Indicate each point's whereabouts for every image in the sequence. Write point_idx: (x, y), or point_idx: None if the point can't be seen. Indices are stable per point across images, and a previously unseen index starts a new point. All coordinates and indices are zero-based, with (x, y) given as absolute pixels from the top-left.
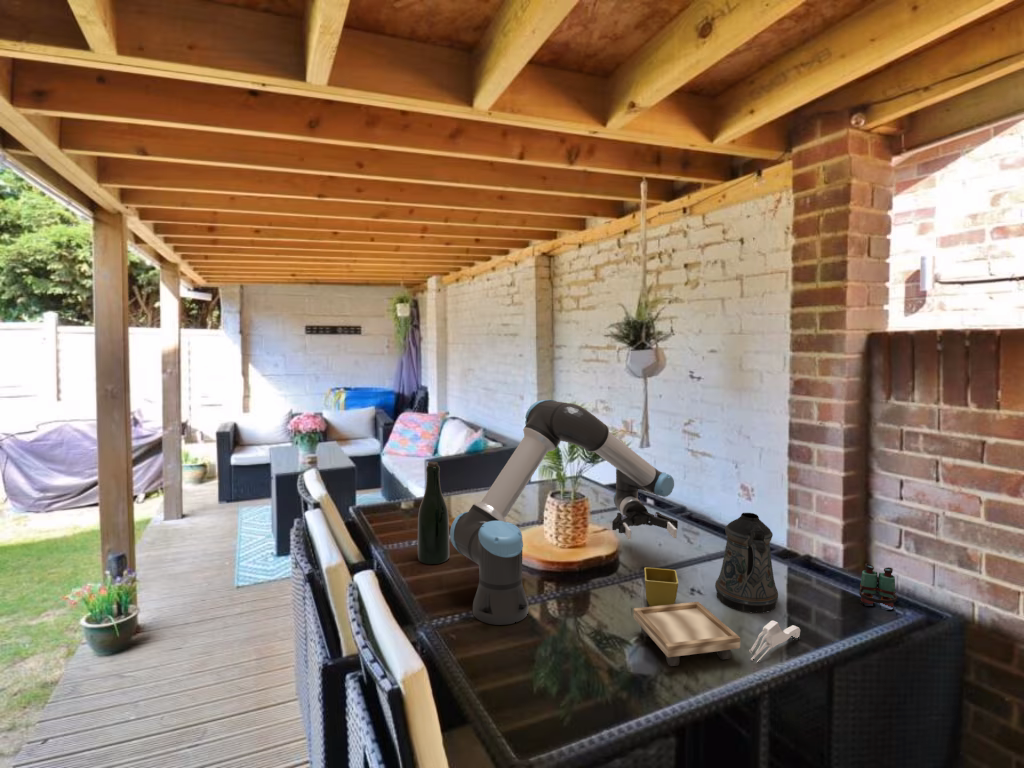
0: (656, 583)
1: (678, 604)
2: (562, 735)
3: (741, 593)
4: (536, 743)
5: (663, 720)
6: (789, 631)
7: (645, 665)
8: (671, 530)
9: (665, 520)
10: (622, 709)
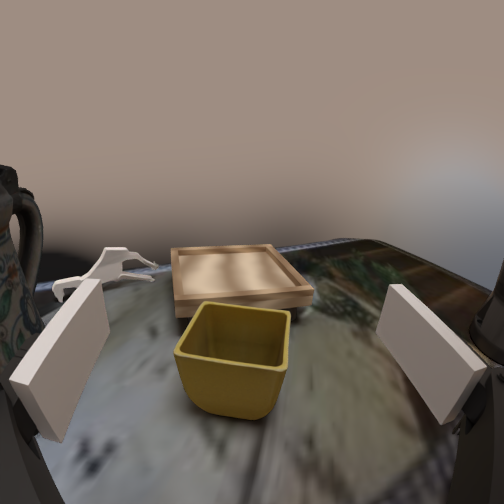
0: (259, 312)
1: (222, 295)
2: (352, 244)
3: None
4: (365, 243)
5: (281, 247)
6: (76, 277)
7: None
8: (86, 334)
9: (4, 436)
10: (314, 253)
